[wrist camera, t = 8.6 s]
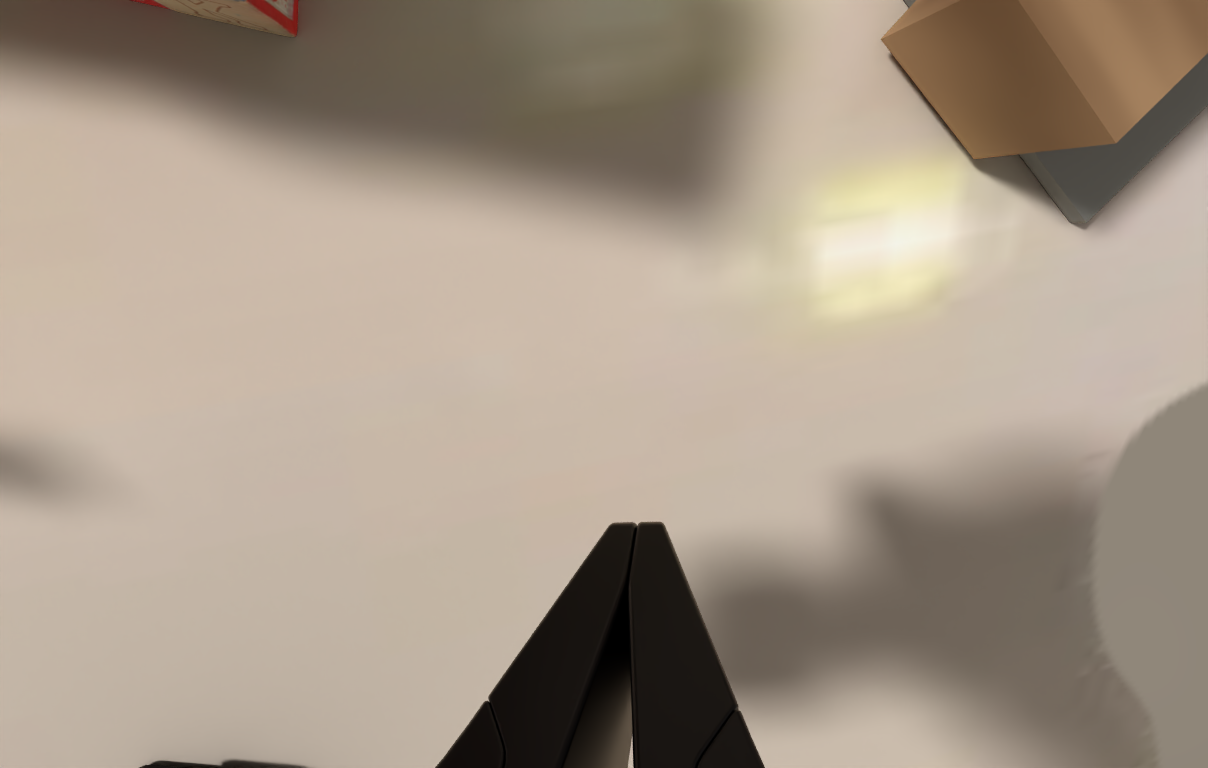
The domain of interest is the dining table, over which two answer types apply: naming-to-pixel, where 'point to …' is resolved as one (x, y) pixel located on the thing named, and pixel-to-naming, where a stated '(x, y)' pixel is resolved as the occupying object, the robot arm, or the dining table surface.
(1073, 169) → the mat
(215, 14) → the stack of blocks
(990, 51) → the walnut block
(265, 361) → the dining table surface
